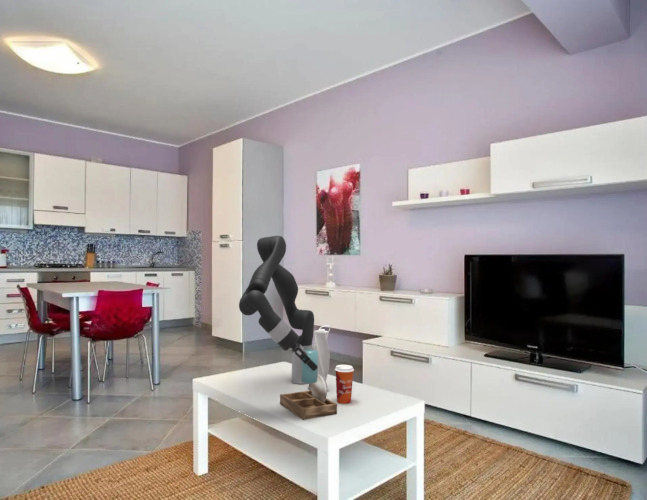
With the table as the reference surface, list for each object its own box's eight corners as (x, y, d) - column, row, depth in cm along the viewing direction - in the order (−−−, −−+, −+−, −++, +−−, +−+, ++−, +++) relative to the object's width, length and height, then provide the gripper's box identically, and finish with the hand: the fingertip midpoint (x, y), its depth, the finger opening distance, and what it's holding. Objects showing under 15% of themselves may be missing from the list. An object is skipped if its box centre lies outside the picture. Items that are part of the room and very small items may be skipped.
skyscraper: (325, 387, 198) (326, 324, 198) (332, 391, 190) (333, 326, 191) (307, 388, 194) (308, 324, 195) (314, 393, 187) (315, 327, 188)
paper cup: (340, 405, 172) (340, 369, 172) (330, 400, 179) (331, 365, 179) (357, 403, 175) (358, 367, 176) (347, 397, 182) (348, 363, 183)
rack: (311, 398, 180) (312, 369, 180) (336, 413, 163) (337, 380, 163) (279, 403, 173) (280, 372, 173) (302, 419, 156) (303, 385, 156)
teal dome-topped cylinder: (312, 378, 167) (313, 348, 168) (320, 381, 162) (321, 351, 162) (298, 379, 164) (299, 350, 165) (305, 383, 159) (306, 353, 159)
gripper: (292, 330, 155) (325, 364, 157) (288, 324, 170) (318, 355, 171) (277, 345, 154) (309, 379, 156) (274, 338, 169) (304, 369, 170)
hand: (314, 366), depth 164 cm, fingers closed on teal dome-topped cylinder, 6 cm apart
